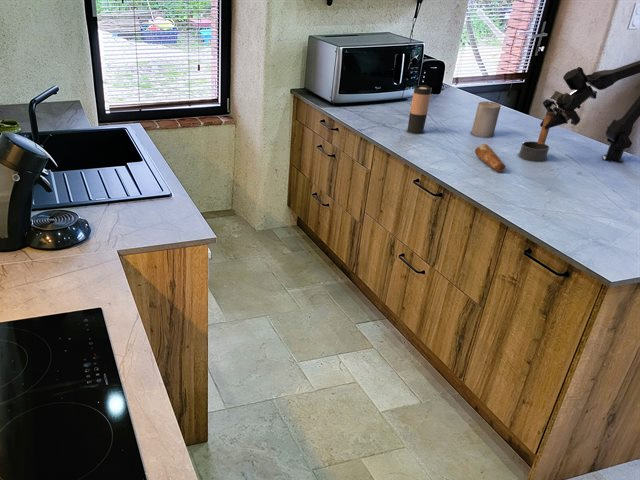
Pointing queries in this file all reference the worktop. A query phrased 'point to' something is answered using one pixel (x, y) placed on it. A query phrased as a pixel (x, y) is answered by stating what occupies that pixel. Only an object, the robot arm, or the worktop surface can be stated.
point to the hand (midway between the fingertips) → (542, 127)
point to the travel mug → (419, 109)
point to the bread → (489, 157)
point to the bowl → (534, 151)
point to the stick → (544, 131)
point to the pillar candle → (486, 119)
